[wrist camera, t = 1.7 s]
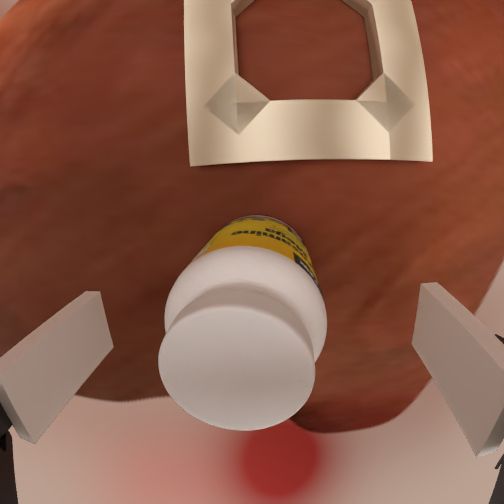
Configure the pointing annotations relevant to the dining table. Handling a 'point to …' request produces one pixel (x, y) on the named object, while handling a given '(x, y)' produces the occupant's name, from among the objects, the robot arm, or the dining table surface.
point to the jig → (305, 111)
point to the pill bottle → (244, 327)
